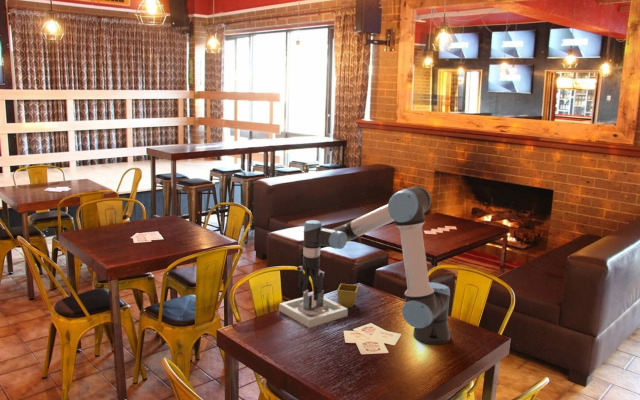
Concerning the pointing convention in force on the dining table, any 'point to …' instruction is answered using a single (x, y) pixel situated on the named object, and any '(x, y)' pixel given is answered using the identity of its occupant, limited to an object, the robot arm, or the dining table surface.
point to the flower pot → (347, 295)
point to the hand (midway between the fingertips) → (309, 305)
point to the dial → (307, 304)
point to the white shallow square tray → (310, 321)
